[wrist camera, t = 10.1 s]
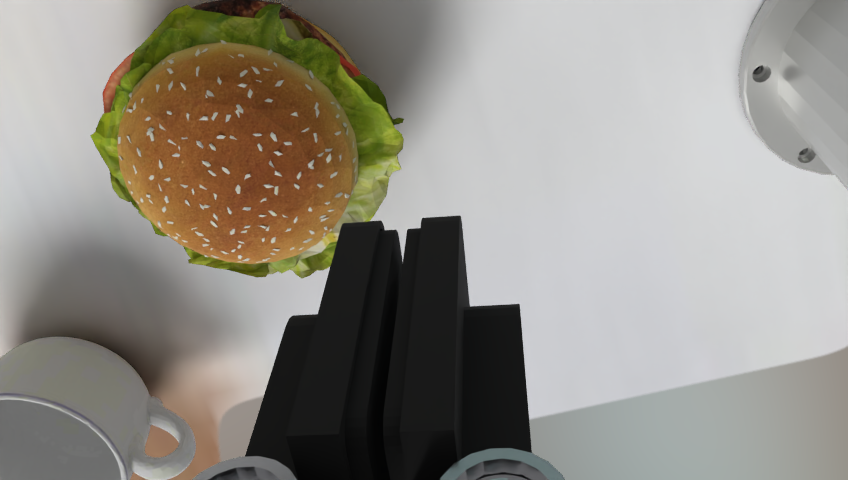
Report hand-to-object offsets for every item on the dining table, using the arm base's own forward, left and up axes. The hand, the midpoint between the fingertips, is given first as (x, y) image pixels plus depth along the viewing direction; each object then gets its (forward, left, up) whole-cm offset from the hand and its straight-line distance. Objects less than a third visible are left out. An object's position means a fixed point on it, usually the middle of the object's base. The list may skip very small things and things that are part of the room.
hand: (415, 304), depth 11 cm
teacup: (+25, +26, -28) cm, 46 cm away
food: (+10, +9, -28) cm, 31 cm away
